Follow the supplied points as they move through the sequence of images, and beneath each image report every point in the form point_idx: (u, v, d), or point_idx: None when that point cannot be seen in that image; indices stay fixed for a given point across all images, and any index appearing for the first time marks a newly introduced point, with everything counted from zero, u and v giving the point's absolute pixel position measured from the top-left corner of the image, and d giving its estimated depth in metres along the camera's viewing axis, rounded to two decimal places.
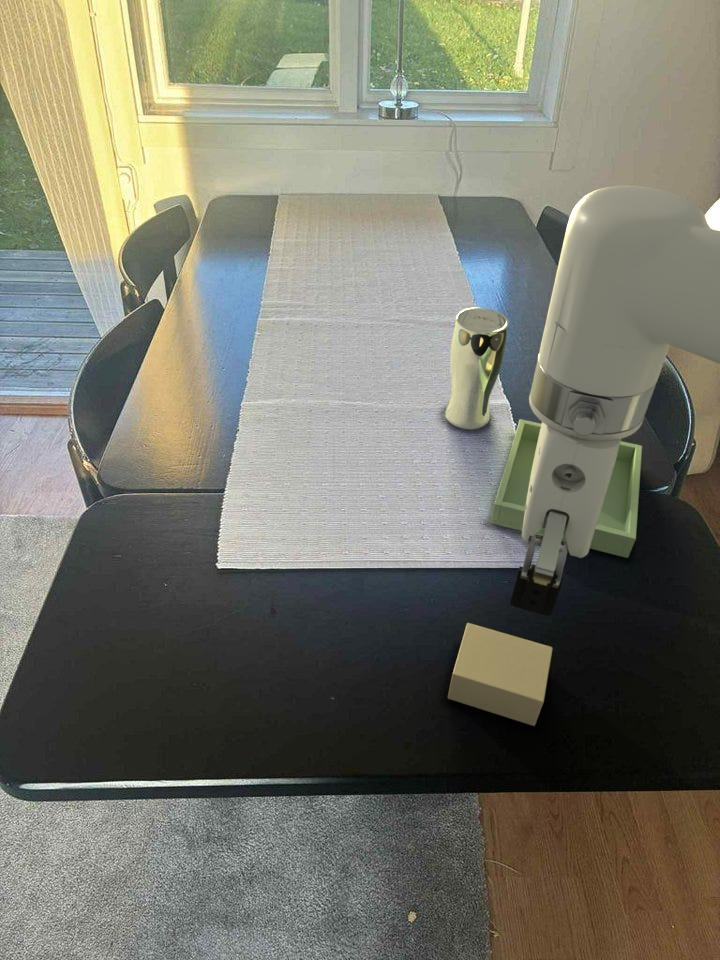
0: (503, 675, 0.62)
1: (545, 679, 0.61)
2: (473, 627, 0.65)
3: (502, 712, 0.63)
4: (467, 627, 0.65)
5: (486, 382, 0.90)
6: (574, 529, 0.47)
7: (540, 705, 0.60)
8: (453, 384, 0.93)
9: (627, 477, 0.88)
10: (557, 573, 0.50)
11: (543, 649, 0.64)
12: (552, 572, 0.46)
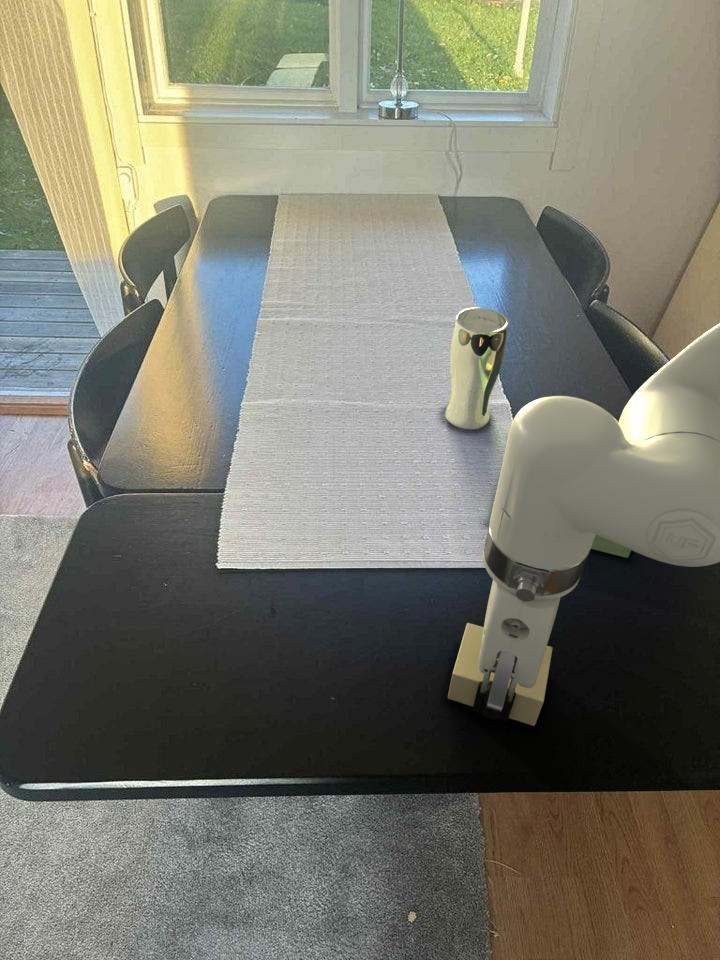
0: None
1: (545, 679, 0.61)
2: (473, 627, 0.65)
3: None
4: (467, 627, 0.65)
5: (486, 382, 0.90)
6: (522, 667, 0.55)
7: (540, 705, 0.60)
8: (453, 384, 0.93)
9: None
10: (509, 694, 0.58)
11: None
12: (500, 710, 0.54)
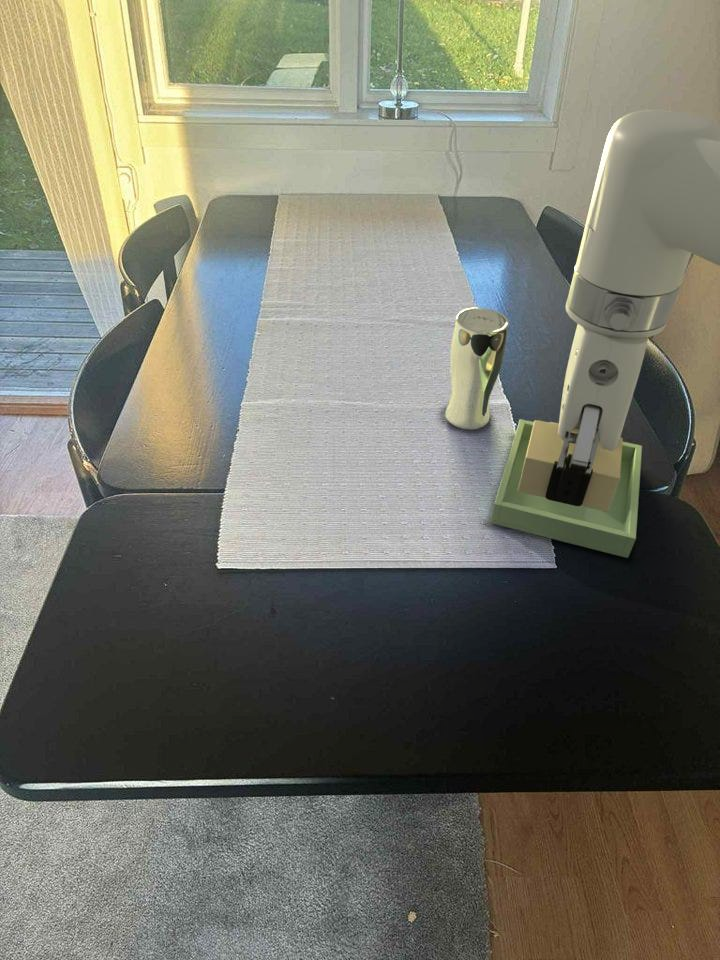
0: None
1: (619, 461, 0.61)
2: (541, 423, 0.65)
3: None
4: (535, 423, 0.65)
5: (486, 382, 0.90)
6: (607, 422, 0.54)
7: (616, 483, 0.60)
8: (453, 384, 0.93)
9: (627, 477, 0.88)
10: (588, 465, 0.58)
11: None
12: (586, 465, 0.54)
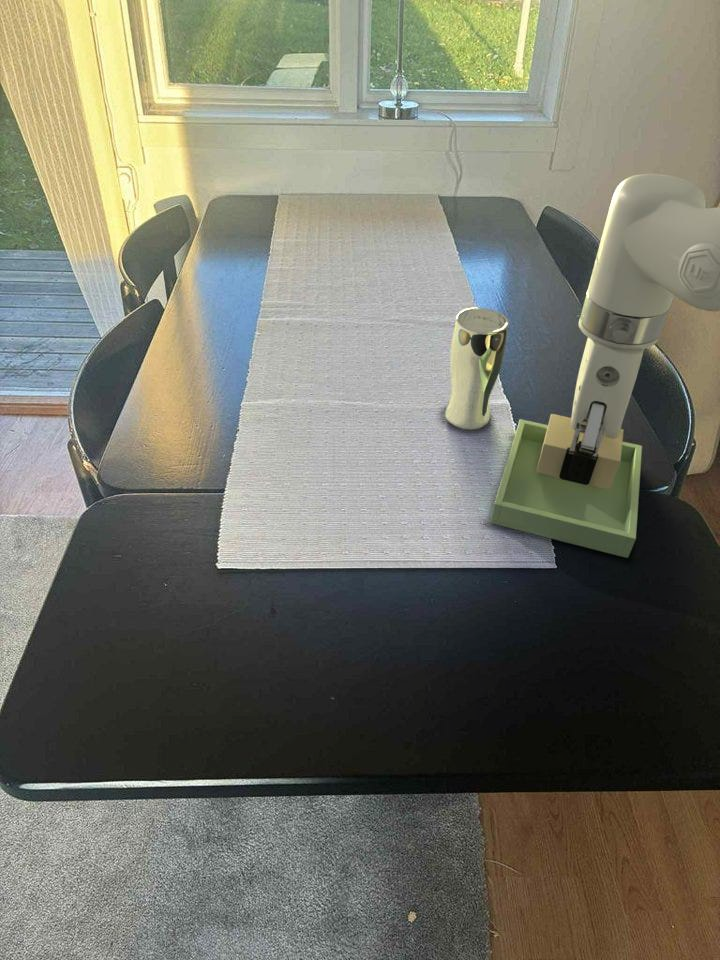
0: None
1: (620, 448, 0.75)
2: (556, 416, 0.79)
3: None
4: (551, 416, 0.79)
5: (486, 382, 0.90)
6: (610, 415, 0.68)
7: (617, 465, 0.73)
8: (453, 384, 0.93)
9: (627, 477, 0.88)
10: (595, 450, 0.71)
11: None
12: (592, 449, 0.68)
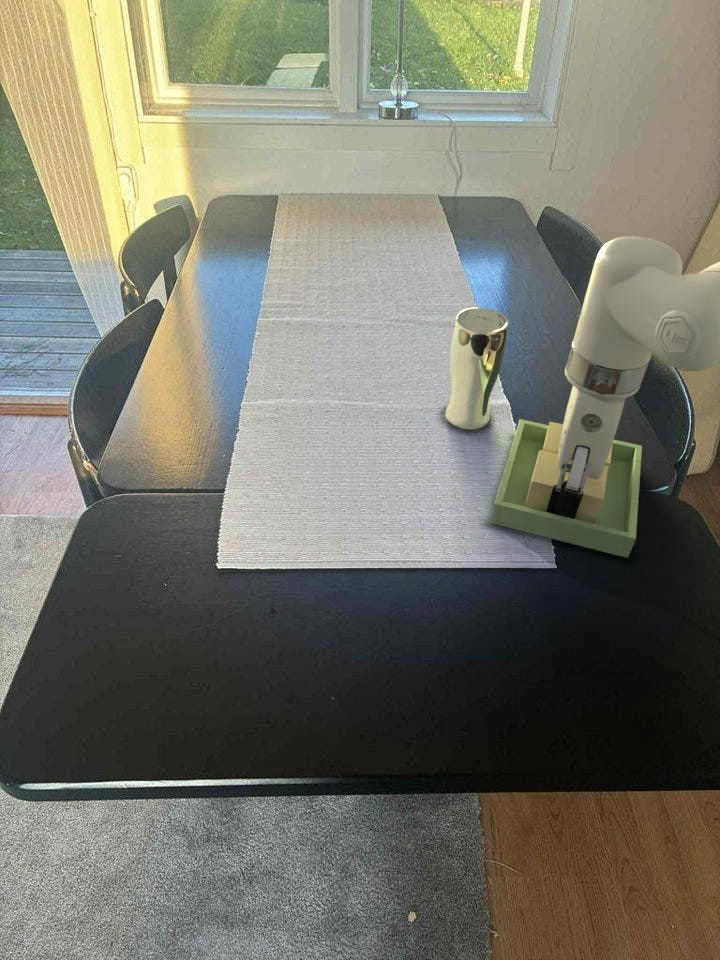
0: None
1: (604, 485, 0.79)
2: (544, 453, 0.82)
3: None
4: (540, 453, 0.82)
5: (486, 382, 0.90)
6: (593, 458, 0.72)
7: (601, 502, 0.77)
8: (453, 384, 0.93)
9: (627, 477, 0.88)
10: (579, 489, 0.75)
11: None
12: (577, 490, 0.72)
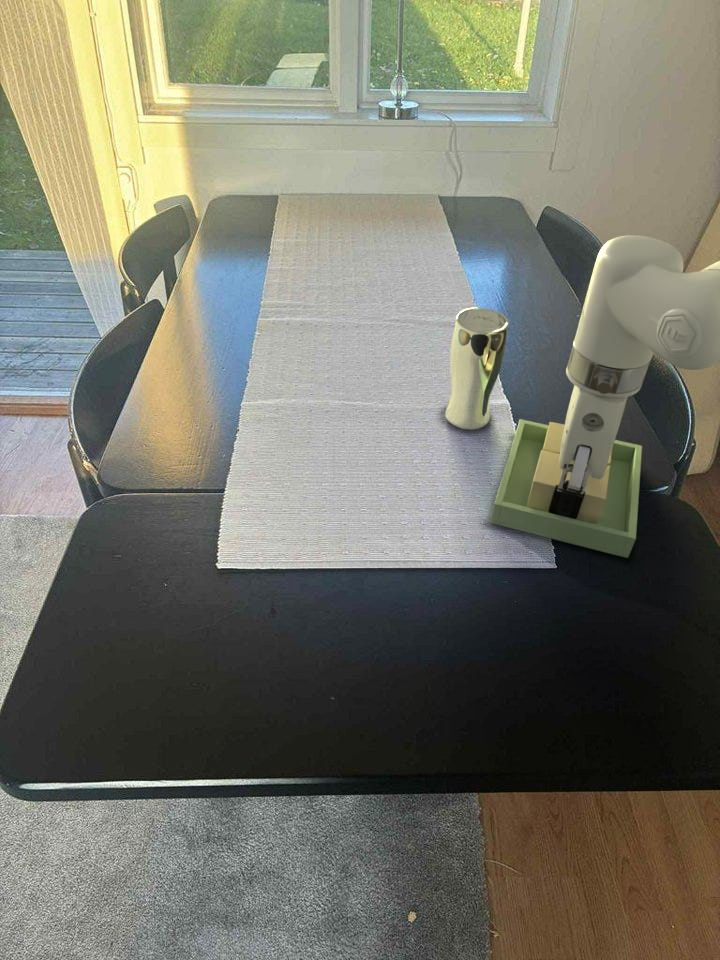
0: None
1: (606, 485, 0.78)
2: (546, 453, 0.82)
3: None
4: (541, 453, 0.82)
5: (486, 382, 0.90)
6: (595, 458, 0.71)
7: (603, 502, 0.77)
8: (453, 384, 0.93)
9: (627, 477, 0.88)
10: (581, 489, 0.75)
11: None
12: (578, 490, 0.71)
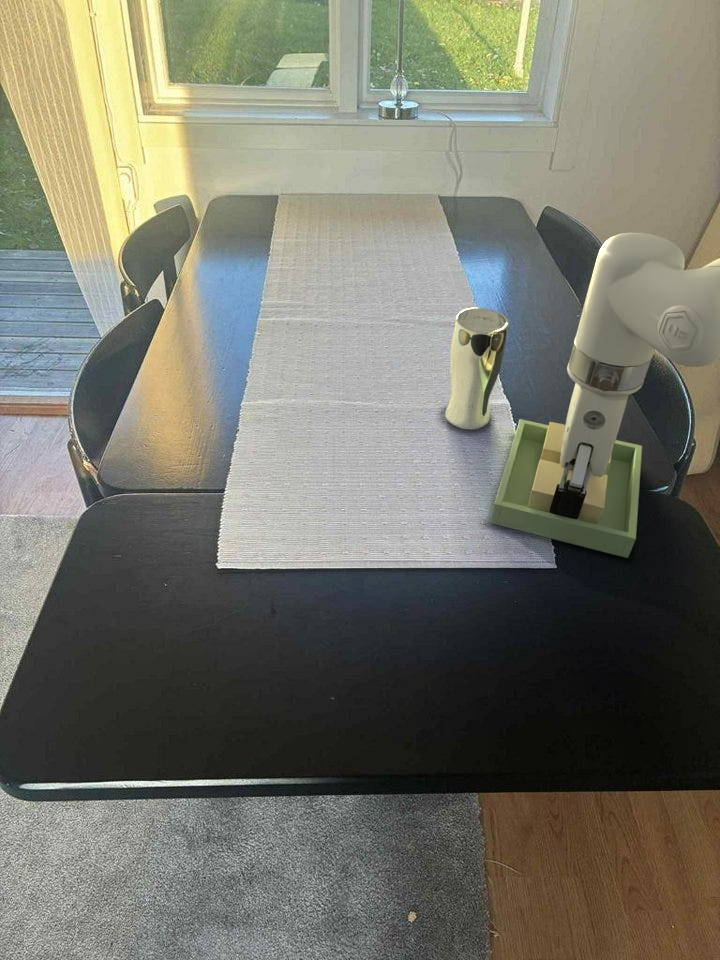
0: None
1: (604, 494, 0.79)
2: (545, 462, 0.83)
3: None
4: (540, 462, 0.83)
5: (486, 382, 0.90)
6: (596, 456, 0.71)
7: (601, 511, 0.78)
8: (453, 384, 0.93)
9: (627, 477, 0.88)
10: None
11: None
12: (580, 487, 0.71)
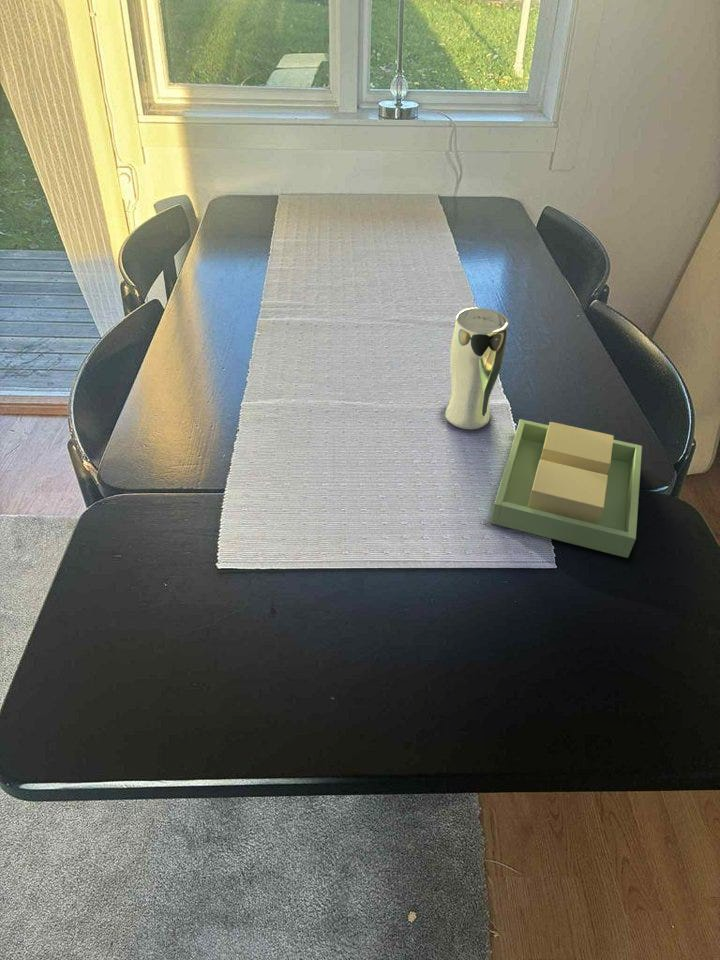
0: (571, 491, 0.79)
1: (604, 494, 0.79)
2: (545, 462, 0.83)
3: None
4: (540, 462, 0.83)
5: (486, 382, 0.90)
6: None
7: (601, 511, 0.78)
8: (453, 384, 0.93)
9: (627, 477, 0.88)
10: None
11: (600, 476, 0.82)
12: None
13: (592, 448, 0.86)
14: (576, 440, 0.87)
